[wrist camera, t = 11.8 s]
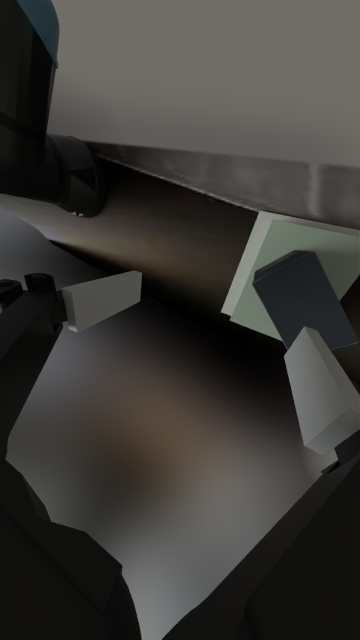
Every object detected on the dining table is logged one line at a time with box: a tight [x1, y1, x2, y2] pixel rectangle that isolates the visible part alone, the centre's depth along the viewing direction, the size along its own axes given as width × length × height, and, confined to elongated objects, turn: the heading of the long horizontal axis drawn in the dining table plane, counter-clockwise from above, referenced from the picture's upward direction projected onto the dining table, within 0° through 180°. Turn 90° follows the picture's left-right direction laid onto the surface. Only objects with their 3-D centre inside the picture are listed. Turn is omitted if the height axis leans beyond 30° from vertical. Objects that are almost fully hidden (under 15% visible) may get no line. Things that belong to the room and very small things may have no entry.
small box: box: [252, 250, 359, 350], centre depth 22 cm, size 11×6×10 cm, turn 34°
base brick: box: [230, 219, 360, 341], centre depth 28 cm, size 13×17×6 cm
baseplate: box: [221, 211, 360, 316], centre depth 31 cm, size 18×20×1 cm
